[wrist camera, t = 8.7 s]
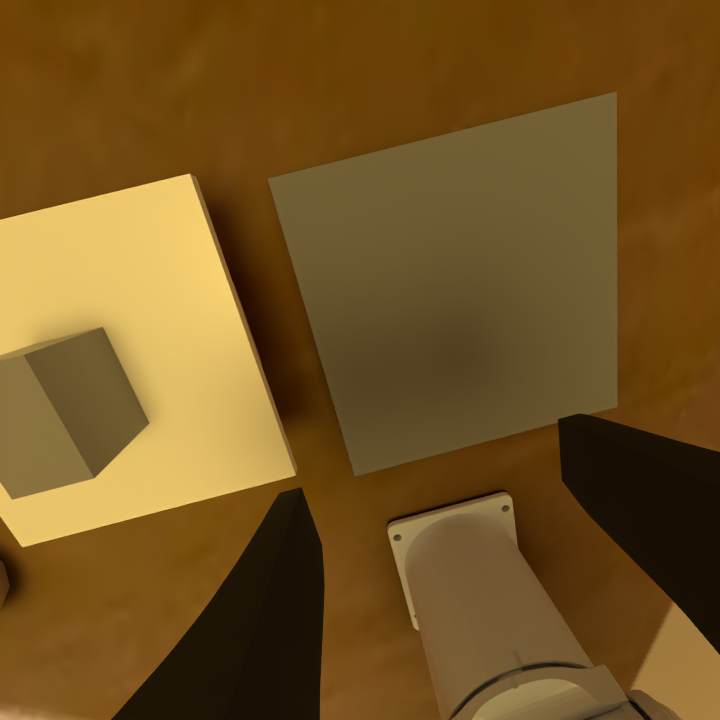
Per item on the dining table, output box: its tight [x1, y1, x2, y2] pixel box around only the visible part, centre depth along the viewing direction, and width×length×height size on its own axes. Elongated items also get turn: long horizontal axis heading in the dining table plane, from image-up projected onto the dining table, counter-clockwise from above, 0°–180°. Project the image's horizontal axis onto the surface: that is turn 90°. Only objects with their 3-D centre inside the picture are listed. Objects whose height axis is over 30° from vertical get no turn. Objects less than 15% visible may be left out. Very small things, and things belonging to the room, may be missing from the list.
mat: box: [268, 92, 618, 476], centre depth 18 cm, size 16×16×1 cm
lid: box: [0, 174, 297, 547], centre depth 12 cm, size 12×12×4 cm
